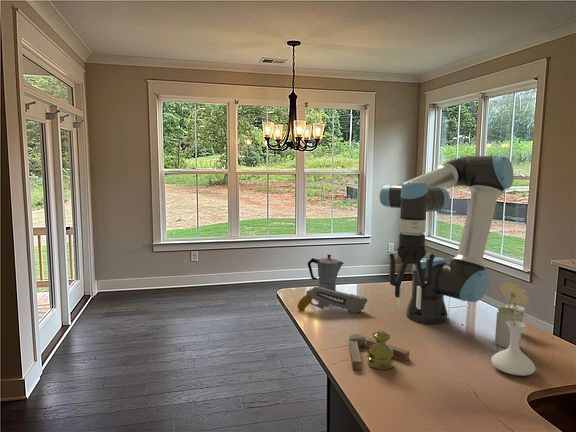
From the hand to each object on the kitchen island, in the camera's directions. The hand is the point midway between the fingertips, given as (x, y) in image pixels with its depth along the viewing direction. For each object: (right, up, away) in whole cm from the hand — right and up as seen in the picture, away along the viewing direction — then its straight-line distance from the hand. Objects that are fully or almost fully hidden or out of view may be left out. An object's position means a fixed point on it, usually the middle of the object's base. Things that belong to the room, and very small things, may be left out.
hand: (408, 307), depth 129 cm
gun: (-20, -10, +39) cm, 45 cm away
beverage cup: (+42, -13, +19) cm, 48 cm away
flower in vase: (+27, -16, -8) cm, 33 cm away
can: (+34, -14, +8) cm, 38 cm away
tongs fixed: (-15, -15, 0) cm, 21 cm away
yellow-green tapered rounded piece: (-10, -16, -6) cm, 20 cm away
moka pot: (-21, -8, +53) cm, 57 cm away
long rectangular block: (-6, -15, +2) cm, 16 cm away
